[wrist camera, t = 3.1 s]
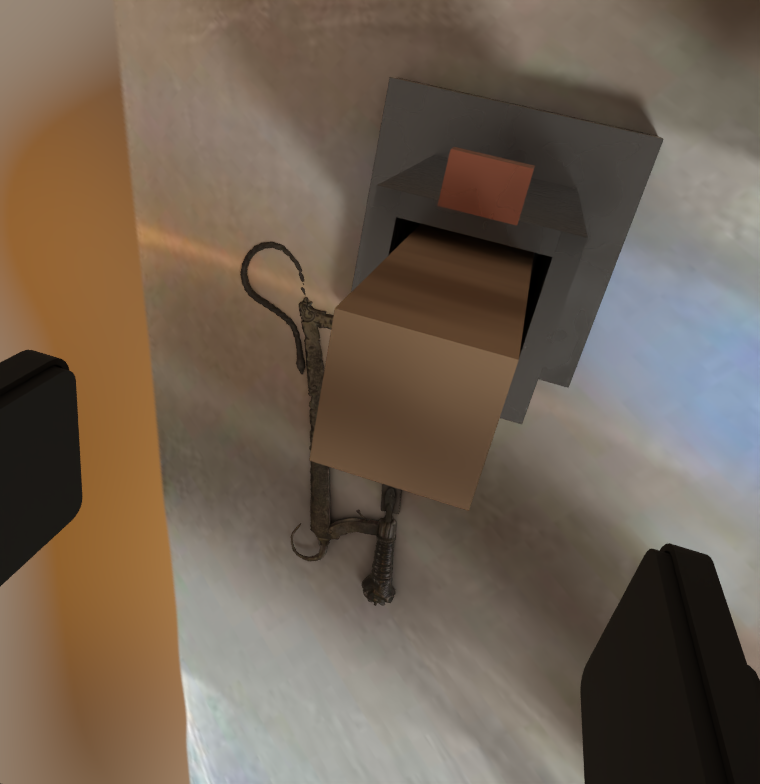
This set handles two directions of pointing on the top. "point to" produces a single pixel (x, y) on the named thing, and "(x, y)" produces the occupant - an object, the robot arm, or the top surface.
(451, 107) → the sleeve
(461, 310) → the column
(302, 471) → the top surface
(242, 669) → the top surface
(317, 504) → the hacksaw
